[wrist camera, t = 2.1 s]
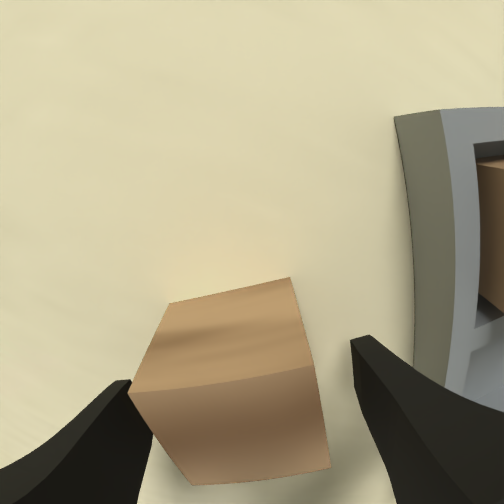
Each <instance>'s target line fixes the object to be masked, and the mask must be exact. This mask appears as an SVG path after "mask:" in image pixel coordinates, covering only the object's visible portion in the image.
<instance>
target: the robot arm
mask: <svg viewBox="0 0 504 504" xmlns="http://www.w3.org/2000/svg"><path fill="white" fill-rule="evenodd" d="M350 343H351V353H352V364H353V376H354V388H355V391H356V394H357V397H358V401H359V404H360V407H361V411H362V414H363V416H364V418H365V421H366V423H367V425H368V427H369V430H370V432H371V434H372V437H373V439H374V441H375V443H376V446H377V448H378V450H379V453H380V455H381V457H382V459H383V462H384V464H385V466H386V469H387V472H388V475H389V477H390V481H391V484H392V488H393V492H394V495H395V499H396V503H397V504H504V412H502V411H499V410H496V409H493V408H490V407H487V406H484V405H482V404H479V403H476V402H474V401H471V400H469V399H467V398H465V397H463V396H460V395H458V394H456V393H454V392H452V391H450V390H448V389H446V388H445V387H443V386H441V385H439V384H438V383H436V382H434V381H433V380H431V379H429V378H428V377H426V376H425V375H423V374H422V373H420V372H418V371H417V370H416V369H414V368H413V367H411V366H410V365H408V364H407V363H406V362H404V361H403V360H401V359H400V358H399V357H397V356H396V355H395V354H394V353H392V352H391V351H390V350H388V349H387V348H386V347H385V346H383V345H382V344H381V343H380V342H378V341H377V340H376V339H375V338H374V337H372V336H371V335H366V336H362V337H359V338H355V339H352V340H350ZM131 384H132V382H131V380H130V379H129V380H117V381H115V382H113V383H112V384H111V385H110V386H108V387H107V388H106V389H105V390H104V391H103V392H102V393H101V394H99V395H98V396H97V397H96V398H95V399H94V400H93V401H92V402H91V403H90V404H89V405H88V406H87V407H86V408H85V409H83V410H82V411H81V412H80V413H79V414H78V415H77V416H76V417H75V418H74V419H73V420H72V421H70V422H69V423H68V424H67V425H66V426H65V427H64V428H62V429H61V430H60V431H59V432H58V433H57V434H55V435H54V436H53V437H52V438H50V439H49V440H48V441H47V442H45V443H44V444H42V445H41V446H40V447H38V448H37V449H35V450H34V451H32V452H31V453H29V454H28V455H26V456H24V457H22V458H21V459H19V460H17V461H15V462H14V463H12V464H10V465H8V466H6V467H4V468H2V469H0V504H137V501H138V496H139V491H140V488H141V484H142V480H143V476H144V472H145V469H146V465H147V461H148V457H149V453H150V450H151V445H152V439H153V432H152V431H151V429H150V428H149V426H148V425H147V423H146V422H145V420H144V419H143V417H142V416H141V414H140V413H139V411H138V409H137V408H136V406H135V405H134V403H133V401H132V400H131V398H130V397H129V395H128V391H129V389H130V386H131Z"/></svg>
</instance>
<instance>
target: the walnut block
mask: <svg viewBox="0 0 504 504" xmlns="http://www.w3.org/2000/svg"><path fill="white" fill-rule="evenodd" d="M128 395H129V397H130V398H131V400H132V401H133V403H134V405H135V406H136V408H137V409H138V411H139V413H140V414H141V416H142V417H143V419H144V420H145V422H146V423H147V425H148V426H149V428H150V429H151V431H152V432H153V434H154V435H155V437H156V438H157V440H158V441H159V443H160V444H161V445H162V447H163V448H164V450H165V451H166V452H167V454H168V455H169V456H170V458H171V459H172V460H173V462H174V463H175V464H176V466H177V467H178V468H179V470H180V471H181V472H182V474H183V475H184V476H185V477H186V479H187V480H188V481H189V482H190V484H191V485H213V484H228V483H240V482H250V481H259V480H267V479H274V478H281V477H287V476H293V475H298V474H304V473H309V472H314V471H319V470H323V469H328V468H331V463H330V456H329V450H328V444H327V437H326V431H325V425H324V419H323V413H322V407H321V401H320V395H319V390H318V384H317V378H316V373H315V367H314V363H313V359H312V355H311V351H310V348H309V344H308V340H307V337H306V333H305V329H304V326H303V322H302V318H301V315H300V311H299V308H298V304H297V300H296V297H295V293H294V290H293V286H292V283H291V279H290V277H288V278H284V279H279V280H275V281H271V282H266V283H262V284H257V285H253V286H249V287H244V288H240V289H235V290H231V291H226V292H221V293H217V294H212V295H208V296H203V297H198V298H193V299H189V300H184V301H179V302H174V303H170V304H169V306H168V308H167V310H166V312H165V314H164V316H163V318H162V320H161V322H160V324H159V326H158V328H157V330H156V332H155V334H154V337H153V339H152V341H151V343H150V345H149V347H148V349H147V351H146V354H145V356H144V358H143V360H142V362H141V364H140V366H139V369H138V371H137V373H136V375H135V377H134V380H133V382H132V384H131V386H130V389H129V391H128Z"/></svg>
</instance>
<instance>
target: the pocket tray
mask: <svg viewBox="0 0 504 504" xmlns="http://www.w3.org/2000/svg"><path fill="white" fill-rule="evenodd" d="M394 120H395V124H396V129H397V134H398V139H399V144H400V150H401V155H402V161H403V167H404V173H405V180H406V187H407V195H408V203H409V211H410V221H411V231H412V243H413V258H414V279H415V343H414V364H413V368H414V369H416V370H417V371H418V372H420V373H422V374H423V375H425V376H426V377H428V378H429V379H431V380H433V381H434V382H436V383H438V384H439V385H441V386H443V387H445V388H446V389H448V390H450V391H452V392H454V393H456V394H458V395H460V396H463V397H465V398H467V399H469V400H471V401H474V402H476V403H479V404H482V405H484V406H487V407H490V408H493V409H496V410H499V411H502V412H504V107H479V108H457V109H441V110H433V111H426V112H420V113H413V114H407V115H401V116H395V117H394Z"/></svg>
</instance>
